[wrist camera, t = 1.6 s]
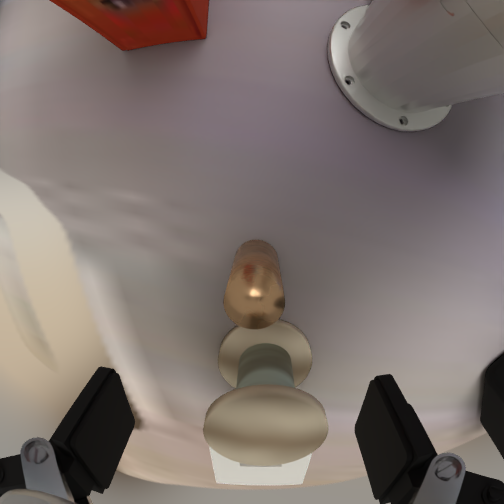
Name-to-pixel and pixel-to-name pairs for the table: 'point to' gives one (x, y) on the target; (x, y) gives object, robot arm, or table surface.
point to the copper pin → (255, 287)
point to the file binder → (141, 20)
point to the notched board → (258, 472)
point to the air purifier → (494, 404)
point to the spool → (265, 398)
